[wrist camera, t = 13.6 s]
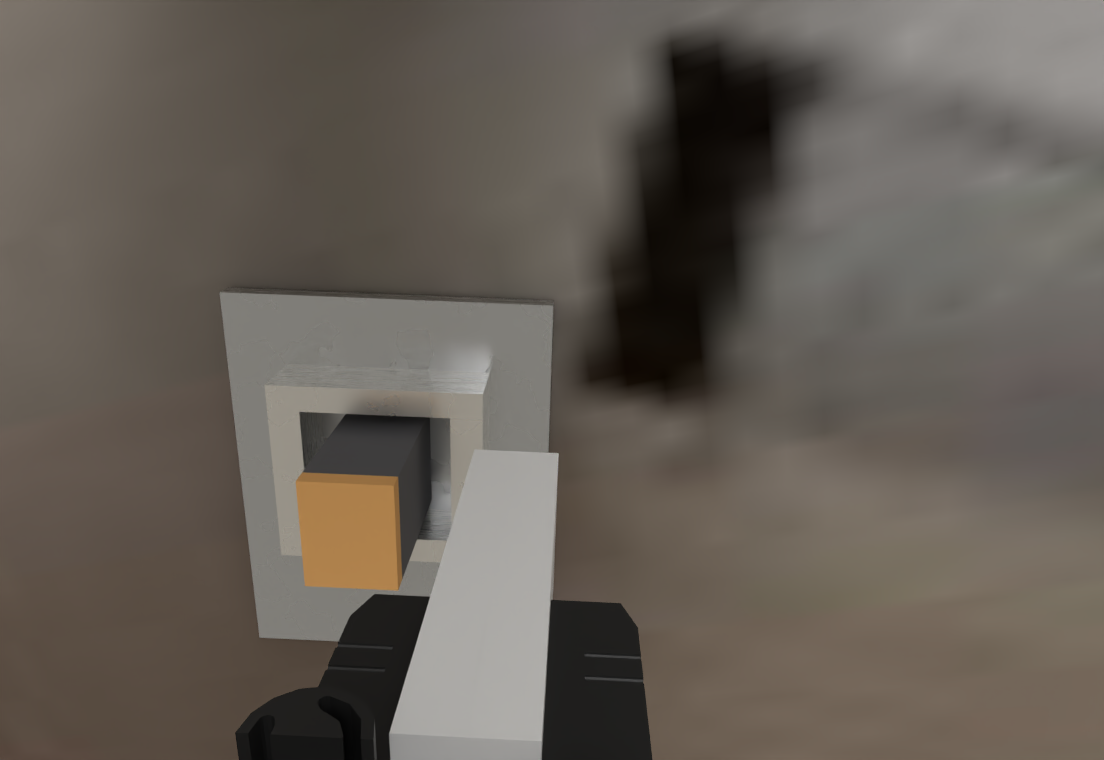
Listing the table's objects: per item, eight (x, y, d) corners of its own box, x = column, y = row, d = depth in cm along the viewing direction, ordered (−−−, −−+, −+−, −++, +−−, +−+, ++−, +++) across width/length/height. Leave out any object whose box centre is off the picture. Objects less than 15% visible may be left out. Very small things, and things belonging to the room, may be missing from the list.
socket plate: (228, 287, 38) (189, 308, 34) (553, 300, 38) (551, 322, 34) (266, 626, 45) (237, 674, 41) (542, 639, 44) (538, 689, 41)
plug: (350, 407, 39) (295, 481, 31) (429, 411, 39) (393, 485, 31) (355, 496, 41) (304, 586, 33) (431, 499, 40) (398, 590, 33)
